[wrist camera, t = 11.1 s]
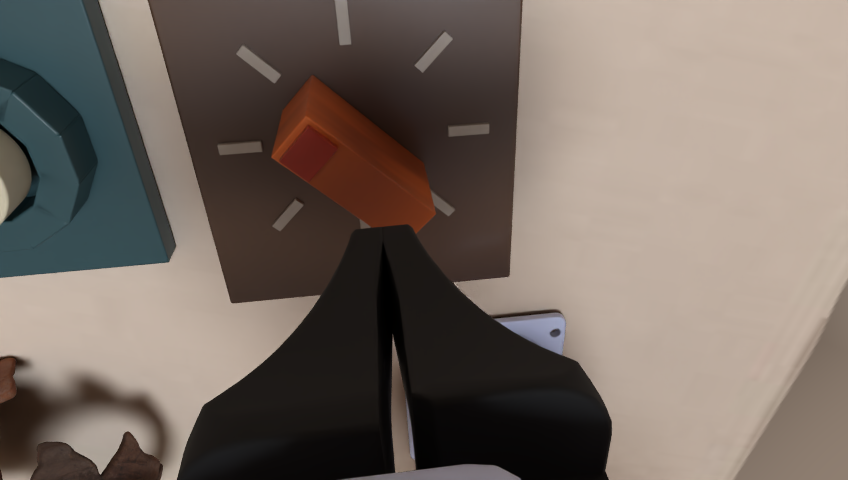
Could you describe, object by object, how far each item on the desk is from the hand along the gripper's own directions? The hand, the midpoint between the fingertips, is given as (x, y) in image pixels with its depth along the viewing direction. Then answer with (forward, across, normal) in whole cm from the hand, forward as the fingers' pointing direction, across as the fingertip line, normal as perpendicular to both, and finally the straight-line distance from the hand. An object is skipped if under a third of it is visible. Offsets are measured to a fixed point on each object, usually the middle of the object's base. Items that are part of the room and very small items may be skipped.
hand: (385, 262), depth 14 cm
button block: (+10, +13, 0) cm, 17 cm away
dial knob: (+7, +1, 0) cm, 7 cm away
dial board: (+10, +1, 0) cm, 10 cm away
